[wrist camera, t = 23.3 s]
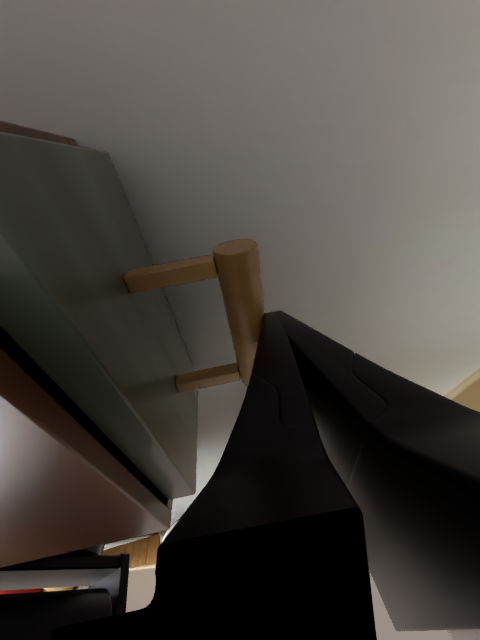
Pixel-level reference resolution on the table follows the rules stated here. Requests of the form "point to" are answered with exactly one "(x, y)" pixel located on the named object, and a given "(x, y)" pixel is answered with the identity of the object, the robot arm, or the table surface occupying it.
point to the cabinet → (61, 469)
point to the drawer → (110, 308)
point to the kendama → (139, 554)
